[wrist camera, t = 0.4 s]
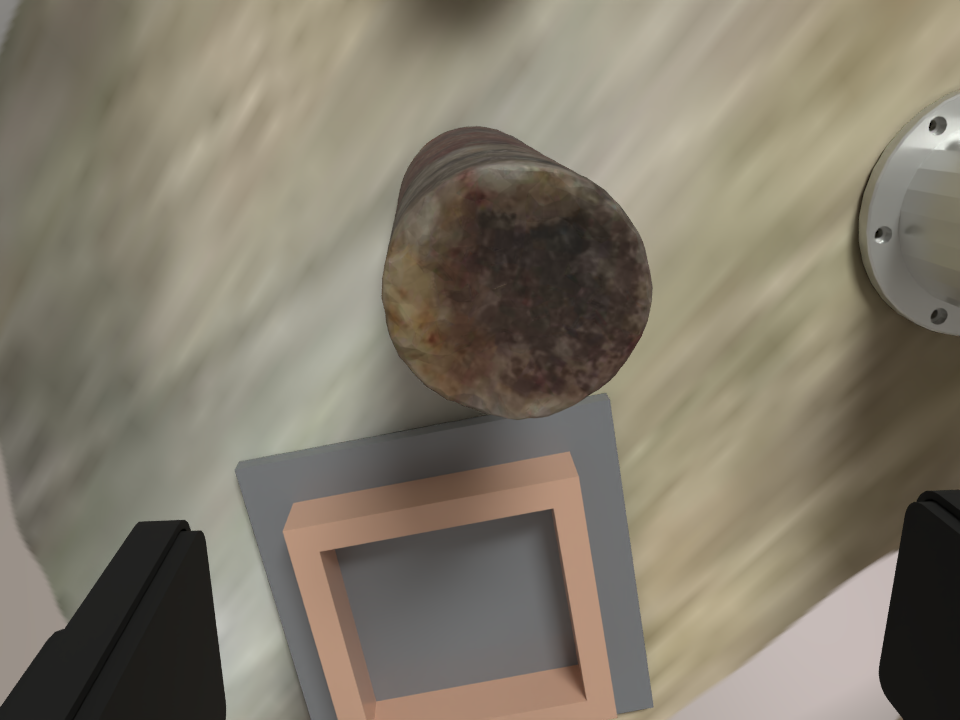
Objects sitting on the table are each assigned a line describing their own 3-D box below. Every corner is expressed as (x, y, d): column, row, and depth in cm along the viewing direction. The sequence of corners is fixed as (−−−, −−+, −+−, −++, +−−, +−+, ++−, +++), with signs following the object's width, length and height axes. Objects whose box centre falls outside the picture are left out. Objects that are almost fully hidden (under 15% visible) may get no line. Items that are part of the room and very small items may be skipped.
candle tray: (606, 392, 43) (621, 421, 39) (649, 695, 49) (666, 745, 45) (239, 461, 43) (219, 496, 39) (327, 754, 49) (318, 808, 45)
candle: (581, 220, 40) (708, 324, 21) (466, 309, 41) (487, 485, 22) (487, 93, 38) (532, 80, 19) (369, 190, 39) (299, 272, 20)
